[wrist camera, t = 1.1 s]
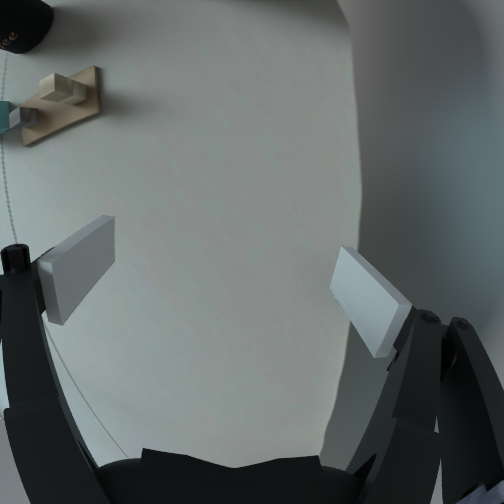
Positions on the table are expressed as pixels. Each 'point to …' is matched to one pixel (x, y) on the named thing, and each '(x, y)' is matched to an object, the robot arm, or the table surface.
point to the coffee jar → (23, 24)
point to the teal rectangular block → (4, 116)
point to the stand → (57, 105)
